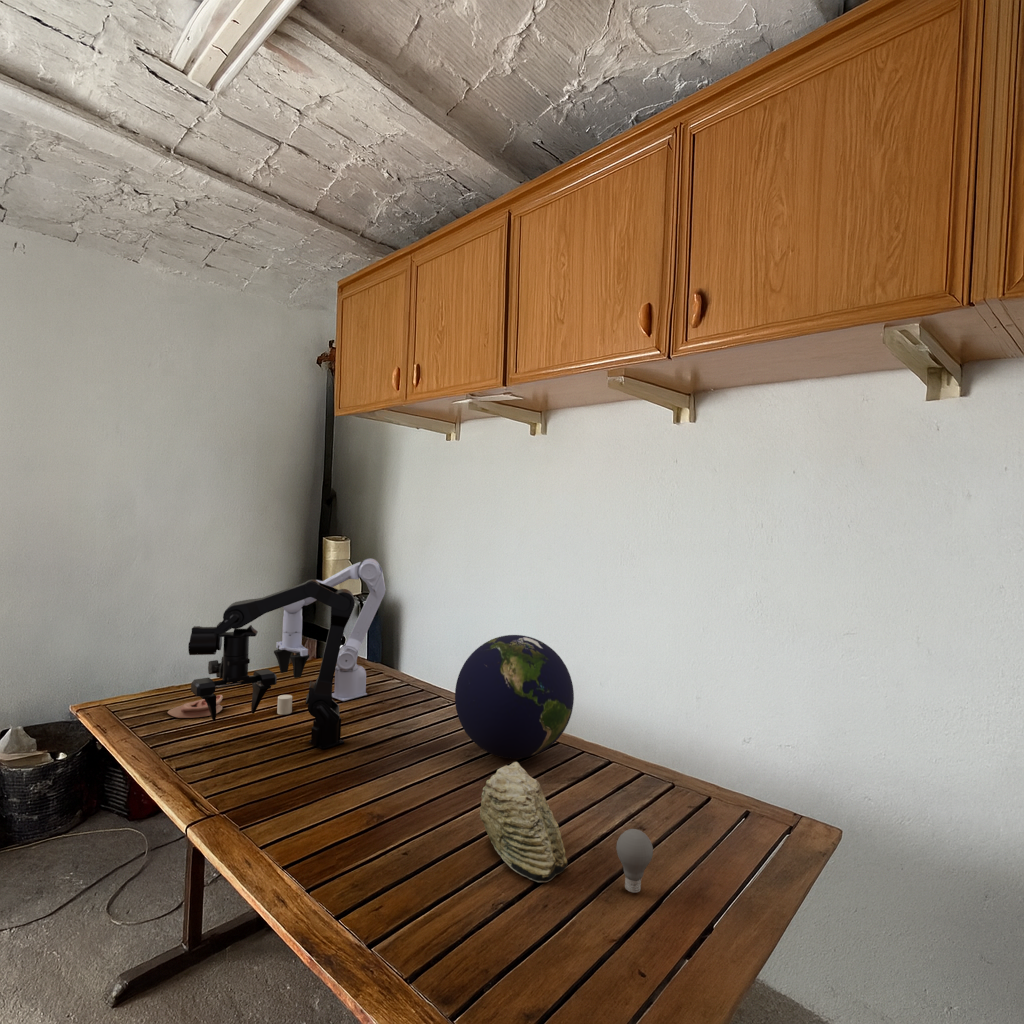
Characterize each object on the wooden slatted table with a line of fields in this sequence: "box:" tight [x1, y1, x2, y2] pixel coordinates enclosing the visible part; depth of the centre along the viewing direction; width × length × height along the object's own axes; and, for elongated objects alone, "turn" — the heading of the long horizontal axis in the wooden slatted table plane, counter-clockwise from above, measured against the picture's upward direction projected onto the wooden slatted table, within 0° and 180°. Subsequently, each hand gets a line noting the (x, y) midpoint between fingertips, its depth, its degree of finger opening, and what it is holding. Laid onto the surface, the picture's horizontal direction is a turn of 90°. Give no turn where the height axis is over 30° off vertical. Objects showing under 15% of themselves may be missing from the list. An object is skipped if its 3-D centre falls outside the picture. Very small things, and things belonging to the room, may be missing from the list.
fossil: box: [479, 761, 569, 883], centre depth 114 cm, size 9×18×15 cm, turn 46°
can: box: [276, 694, 293, 716], centre depth 184 cm, size 4×4×5 cm
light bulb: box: [615, 828, 654, 894], centre depth 106 cm, size 6×6×10 cm
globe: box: [454, 634, 575, 760], centre depth 160 cm, size 30×30×30 cm
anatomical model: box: [167, 694, 224, 719], centre depth 180 cm, size 13×4×12 cm
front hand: (233, 716), depth 156 cm, fingers open, 9 cm apart
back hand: (290, 674), depth 197 cm, fingers open, 7 cm apart
